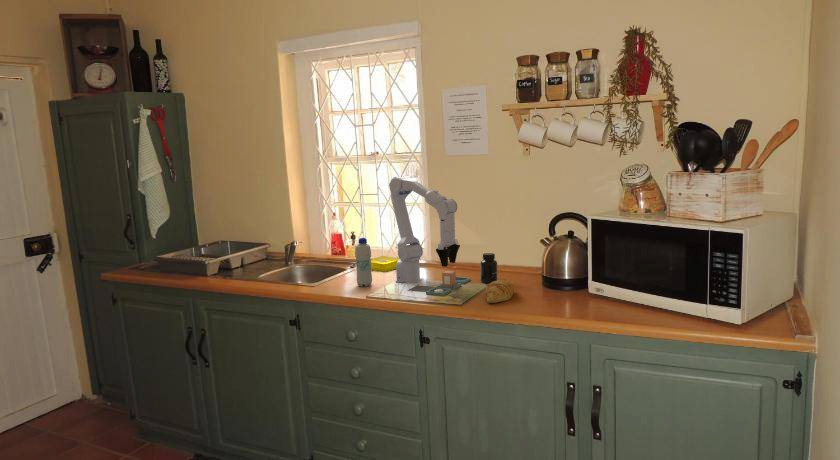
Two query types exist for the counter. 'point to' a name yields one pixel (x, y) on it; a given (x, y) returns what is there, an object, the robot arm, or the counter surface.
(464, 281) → the dish
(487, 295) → the bread loaf
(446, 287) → the dish
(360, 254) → the bottle
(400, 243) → the robot arm
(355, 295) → the counter surface
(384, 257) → the yellow food container
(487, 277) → the supplement bottle
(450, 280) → the brown rectangular block
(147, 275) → the counter surface
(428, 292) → the dish
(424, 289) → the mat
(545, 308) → the counter surface
